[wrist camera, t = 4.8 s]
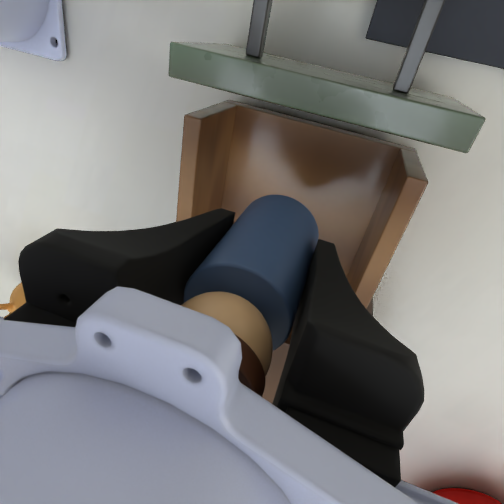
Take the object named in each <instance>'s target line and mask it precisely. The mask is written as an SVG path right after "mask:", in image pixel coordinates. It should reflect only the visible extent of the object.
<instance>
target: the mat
mask: <svg viewBox="0 0 504 504" xmlns="http://www.w3.org/2000/svg"><path fill="white" fill-rule="evenodd" d="M424 1H425V0H377V3H376V6H375V9H374V13H373V16H372V19H371V22H370V25H369V29H368V32H367V35H366V38H367V39H371V40H375V41H380V42H384V43H389V44H393V45H398V46H402V47H408V44H409V42H410V39H411V36H412V34H413V31H414V28H415V26H416V23H417V20H418V17H419V15H420V12H421V9H422V7H423V4H424ZM425 52H430V53H434V54H439V55H444V56H448V57H453V58H457V59H462V60H466V61H471V62H475V63H480V64H485V65H489V66H494V67H498V68H503V69H504V0H445V3H444V5H443V8H442V10H441V13H440V15H439V18H438V20H437V23H436V25H435V28H434V30H433V33H432V35H431V38H430V40H429V43H428V45H427V48H426V50H425Z"/></svg>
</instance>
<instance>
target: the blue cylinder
mask: <svg viewBox="0 0 504 504" xmlns="http://www.w3.org/2000/svg"><path fill="white" fill-rule="evenodd" d="M318 237H319V233H318V226H317V223H316V220H315V218H314V216H313V215H312V213H311V212H310V211H309V210H308V209H307V208H306V207H305V206H304V205H303V204H302V203H300V202H299V201H297V200H295V199H293V198H291V197H288V196H284V195H267V196H263V197H260V198H258V199H256V200H255V201H253V202H252V203H251V204H250V205H249V206H248V207H247V208H246V209H245V210H244V212H243V213H242V214H241V215H240V217H239V218H238V219H237V220H236V221H235V223H234V224H233V225H232V226H231V228H230V229H229V230H228V231H227V232H226V234H225V235H224V236H223V237H222V239H221V240H220V241H219V242H218V244H217V245H216V246H215V247H214V248H213V250H212V251H211V252H210V253H209V255H208V256H207V257H206V258H205V259H204V261H203V262H202V263H201V264H200V266H199V267H198V268H197V269H196V270H195V272H194V273H193V274H192V275H191V277H190V278H189V280H188V281H187V283H186V286H185V290H184V303H183V304H182V305H181V306H183V307H186V308H189V309H191V310H194V311H197V312H200V313H202V314H205V315H208V316H210V317H213V318H215V319H216V320H218V321H220V322H221V323H223V324H225V325H226V326H228V327H229V328H230V329H231V330H232V332H233V333H234V334H235V336H236V337H237V338H238V340H239V341H240V342H241V351H242V360H241V364H240V368H239V375H238V378H239V381H240V382H241V383H242V384H243V385H245V386H246V387H248V388H249V389H251V390H252V391H254V392H255V393H257V394H258V395H260V396H261V397H262V396H263V392H264V389H265V377H266V375H267V372H268V370H269V368H270V364H271V360H272V352H273V351H274V350H276V349H277V348H278V347H280V346H281V345H282V344H283V343H284V342H285V341H286V340H287V338H288V337H289V335H290V332H291V329H292V326H293V323H294V319H295V316H296V313H297V310H298V306H299V303H300V300H301V296H302V293H303V290H304V286H305V283H306V279H307V276H308V271H309V267H310V263H311V260H312V257H313V254H314V251H315V248H316V245H317V242H318Z"/></svg>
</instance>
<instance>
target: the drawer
mask: <svg viewBox="0 0 504 504" xmlns="http://www.w3.org/2000/svg"><path fill="white" fill-rule="evenodd" d="M444 3H445V0H425V1H424V4H423V7H422V9H421V12H420V15H419V17H418V20H417V23H416V26H415V28H414V31H413V34H412V36H411V39H410V42H409V44H408V47H407V50H406V52H405V55H404V58H403V61H402V63H401V66H400V69H399V71H398V74H397V77H396V79H395V82H394V84H393V83H389V82H385V81H381V80H376V79H372V78H368V77H364V76H359V75H355V74H351V73H347V72H342V71H338V70H334V69H330V68H326V67H321V66H317V65H313V64H309V63H304V62H300V61H296V60H292V59H287V58H283V57H279V56H275V55H271V54H266V53H263V51H264V45H265V40H266V34H267V28H268V23H269V17H270V12H271V6H272V0H254V2H253V9H252V15H251V22H250V28H249V35H248V41H247V48H246V49H245V48H241V47H237V46H232V45H228V44H215V43H189V42H171V43H170V57H169V76H170V77H173V78H177V79H181V80H185V81H189V82H193V83H196V84H200V85H204V86H208V87H212V88H216V89H220V90H224V91H227V92H231V93H235V94H239V95H243V96H247V97H251V98H254V99H258V100H262V101H266V102H270V103H274V104H278V105H281V106H285V107H289V108H293V109H297V110H301V111H305V112H309V113H312V114H316V115H320V116H324V117H328V118H332V119H336V120H339V121H343V122H347V123H351V124H355V125H359V126H363V127H367V128H370V129H374V130H378V131H382V132H386V133H390V134H394V135H397V136H401V137H405V138H409V139H413V140H417V141H421V142H424V143H428V144H432V145H436V146H440V147H444V148H448V149H452V150H455V151H459V152H463V153H468V152H469V150H470V148H471V146H472V144H473V142H474V141H475V139H476V137H477V135H478V133H479V131H480V129H481V127H482V125H483V124H484V122H485V117H483V116H481V115H480V114H478V113H477V112H475V111H473V110H472V109H470V108H469V107H467V106H466V105H464V104H462V103H461V102H459V101H458V100H456V99H454V98H452V97H448V96H444V95H440V94H436V93H431V92H427V91H423V90H419V89H414V88H411V86H412V83H413V81H414V78H415V76H416V73H417V70H418V68H419V65H420V63H421V60H422V58H423V55H424V53H425V50H426V48H427V45H428V43H429V40H430V38H431V35H432V33H433V30H434V28H435V25H436V23H437V20H438V18H439V15H440V13H441V10H442V8H443V5H444ZM427 184H428V180H427V178H426V175H425V173H424V170H423V167H422V165H421V162H420V160H419V157H418V155H417V152H416V149H415V148H411V147H407V146H403V145H399V144H396V143H392V142H388V141H384V140H380V139H376V138H373V137H369V136H365V135H361V134H357V133H354V132H350V131H346V130H342V129H338V128H335V127H331V126H327V125H323V124H319V123H316V122H312V121H308V120H304V119H300V118H296V117H293V116H289V115H285V114H281V113H277V112H274V111H270V110H266V109H262V108H258V107H255V106H251V105H247V104H243V103H239V102H236V101H232V100H227V101H224V102H222V103H219V104H216V105H213V106H210V107H207V108H204V109H201V110H198V111H195V112H192V113H189V114H186V115H185V116H184V127H183V140H182V153H181V166H180V179H179V192H178V205H177V218H176V222H178V221H181V220H185V219H188V218H191V217H195V216H198V215H201V214H203V213H206V212H209V211H212V210H216V209H219V208H222V209H226V210H229V211H232V212H235V218H234V223H235V221H236V220H237V219H238V218H239V217H240V215H241V214H242V213H243V212H244V210H245V209H246V208H247V207H248V206H249V205H250V204H251V203H252V202H253V201H255V200H256V199H258V198H260V197H263V196H267V195H284V196H288V197H291V198H293V199H295V200H297V201H299V202H300V203H302V204H303V205H304V206H305V207H306V208H307V209H308V210H309V211H310V212H311V213H312V215H313V216H314V218H315V220H316V223H317V226H318V233H319V237H318V239H321V240H324V241H327V242H330V243H334V244H335V246H336V250H337V254H338V257H339V260H340V263H341V266H342V268H343V270H344V273H345V275H346V277H347V280H348V282H349V284H350V285H351V287H352V289H353V291H354V292H355V294H356V295H357V297H358V298H359V300H360V301H361V303H362V304H363V305H364V307H365V308H366V309H367V307H368V305H369V303H370V301H371V299H372V297H373V295H374V293H375V291H376V289H377V287H378V285H379V282H380V280H381V278H382V276H383V274H384V272H385V270H386V268H387V266H388V264H389V262H390V260H391V258H392V256H393V254H394V252H395V250H396V248H397V246H398V244H399V242H400V240H401V238H402V235H403V233H404V231H405V229H406V227H407V225H408V223H409V221H410V219H411V217H412V215H413V213H414V211H415V209H416V207H417V205H418V203H419V201H420V199H421V197H422V195H423V193H424V190H425V188H426V186H427ZM234 223H233V224H234ZM293 324H294V323H293ZM292 329H293V326H292ZM292 329H291V332H290V334H292Z"/></svg>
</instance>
